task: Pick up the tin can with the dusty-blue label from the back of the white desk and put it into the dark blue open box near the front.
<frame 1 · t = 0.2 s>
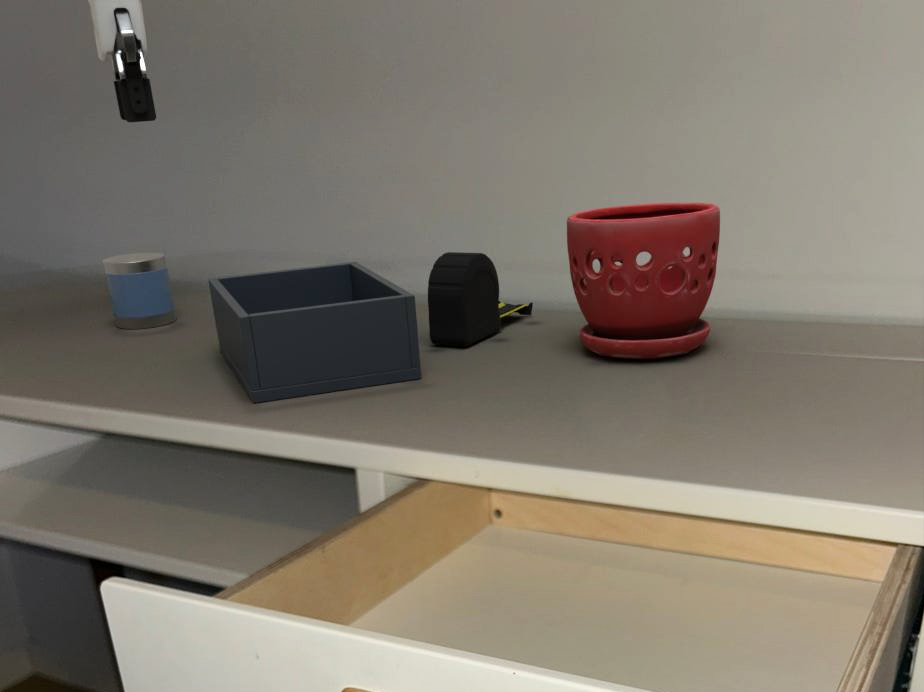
hand: (138, 120, 119), 20 cm above the table, tool pointing down, fingers open, 9 cm apart
can: (146, 322, 120), on the table
flower pot: (640, 350, 97), on the table
tape measure: (482, 333, 107), on the table
dark blue open box: (314, 364, 99), on the table
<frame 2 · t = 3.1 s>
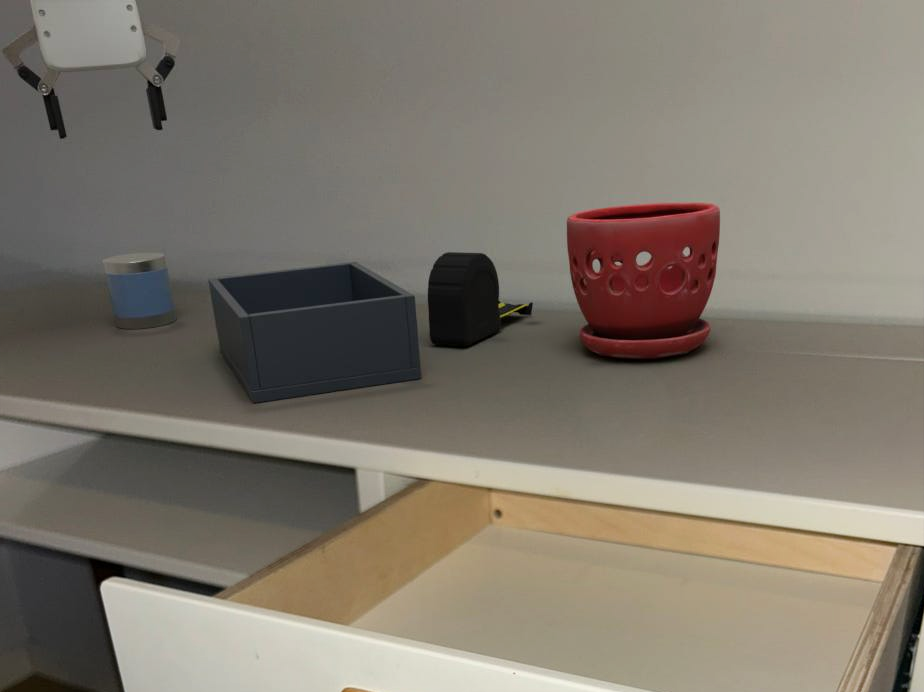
hand: (111, 133, 111), 19 cm above the table, tool pointing down, fingers open, 9 cm apart
nothing on the table moved.
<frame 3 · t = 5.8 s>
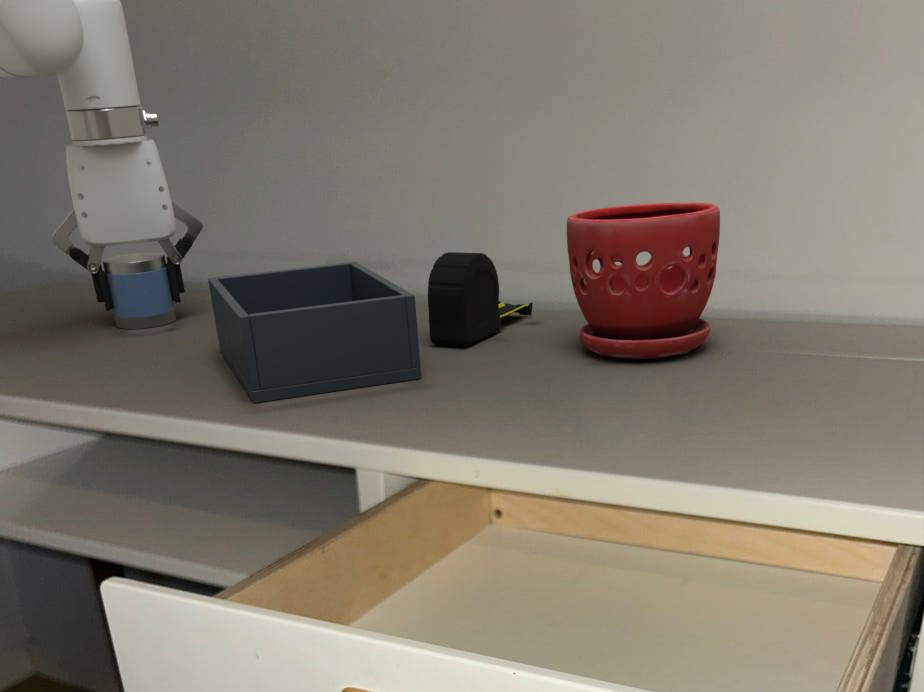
hand: (142, 303, 119), 2 cm above the table, tool pointing down, fingers closed on can, 6 cm apart
can: (146, 322, 120), on the table, touching gripper
everything else where it was.
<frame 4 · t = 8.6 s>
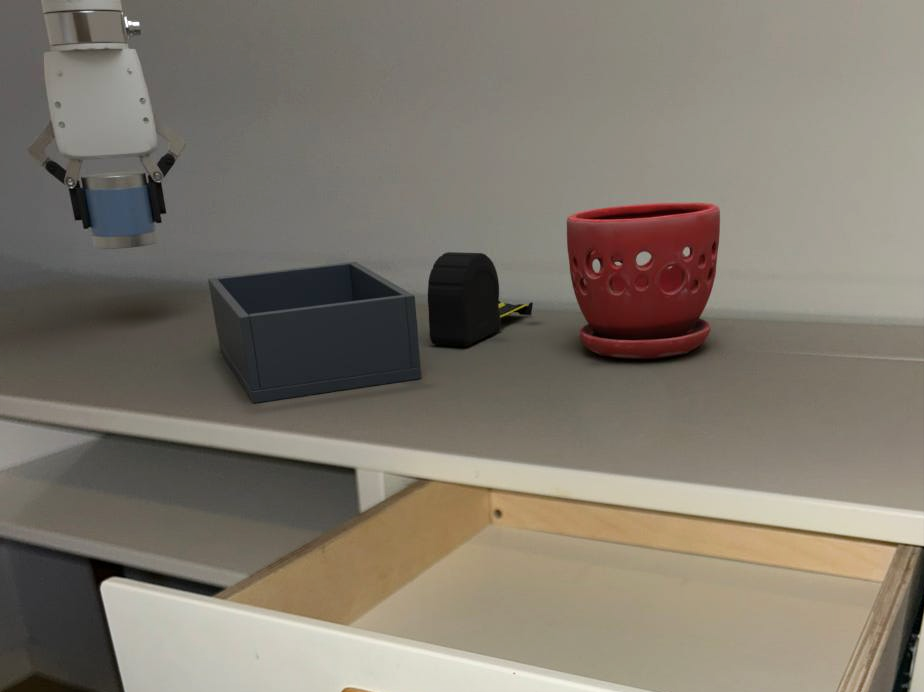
hand: (122, 223, 115), 11 cm above the table, tool pointing down, fingers closed on can, 6 cm apart
can: (126, 244, 116), point 8 cm above the table, touching gripper
everything else where it was.
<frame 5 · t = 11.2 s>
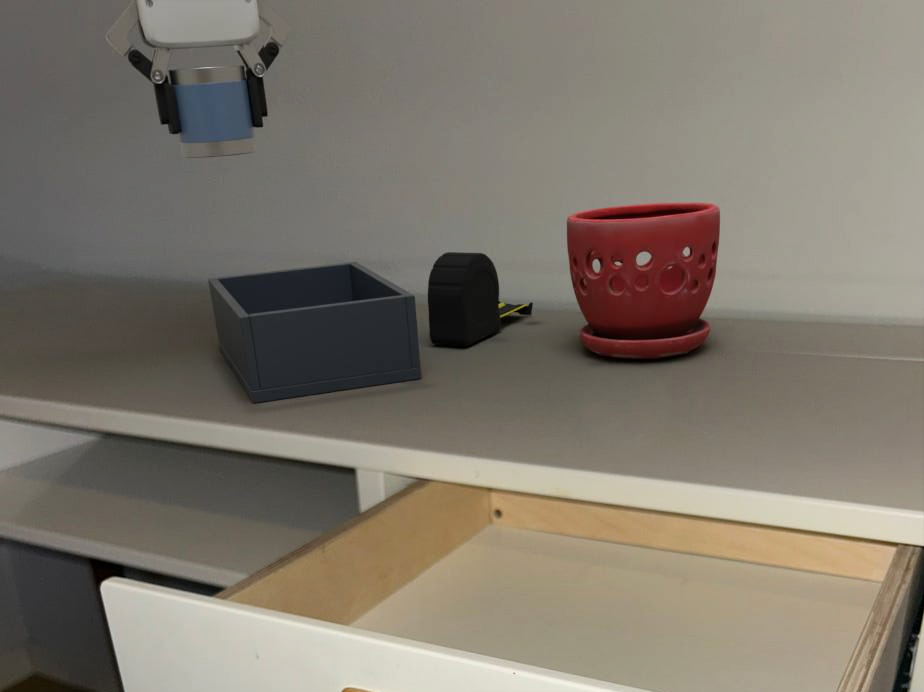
hand: (215, 128, 97), 20 cm above the table, tool pointing down, fingers closed on can, 6 cm apart
can: (219, 154, 98), point 18 cm above the table, touching gripper
everything else where it was.
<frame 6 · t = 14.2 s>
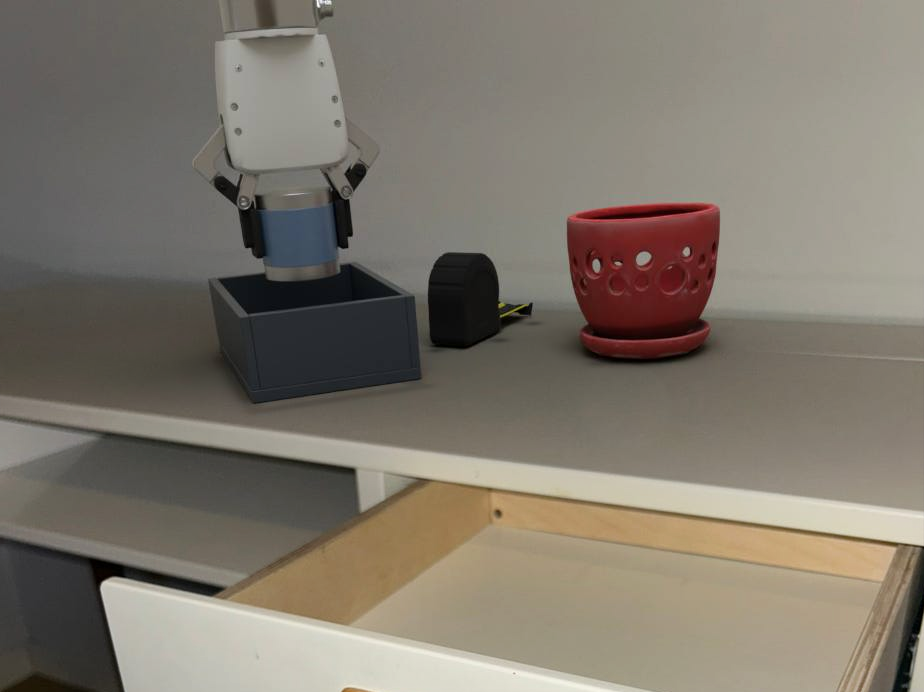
hand: (300, 249, 94), 10 cm above the table, tool pointing down, fingers closed on can, 6 cm apart
can: (303, 274, 95), point 8 cm above the table, touching gripper
everything else where it was.
when the fingers open (3 cm above the table, at t = 16.7 s): can stays where it is, resting on dark blue open box.
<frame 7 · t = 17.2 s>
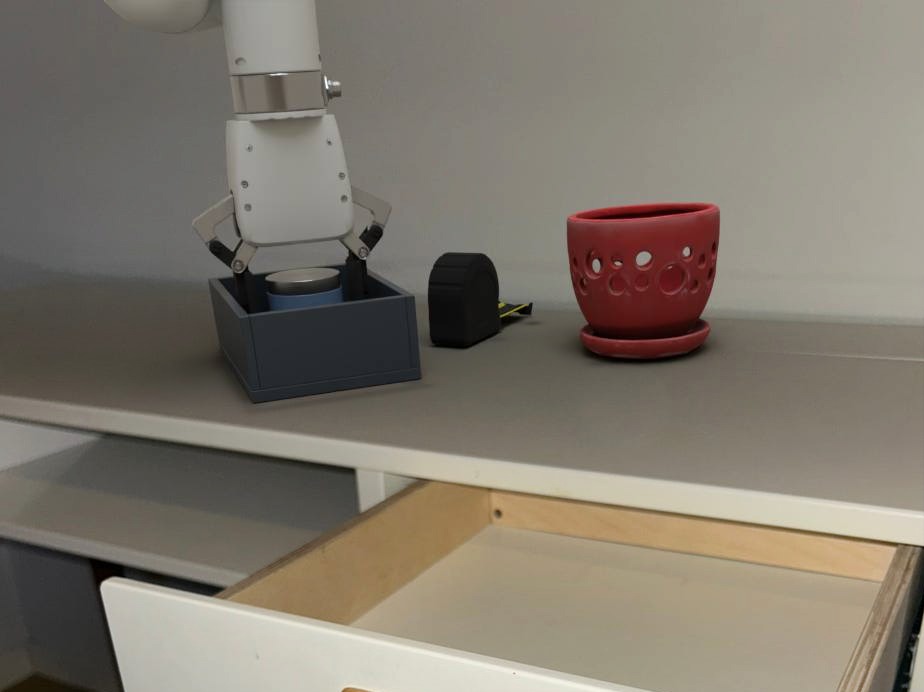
hand: (305, 310, 97), 5 cm above the table, tool pointing down, fingers open, 9 cm apart
can: (312, 353, 98), point 1 cm above the table, touching dark blue open box
everything else where it was.
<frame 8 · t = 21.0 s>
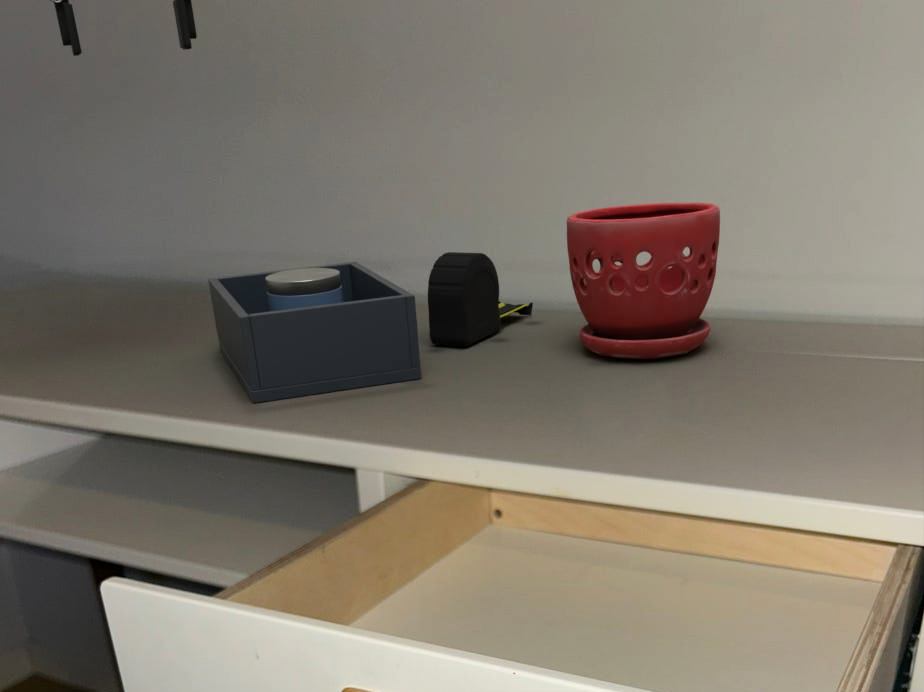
hand: (132, 51, 97), 26 cm above the table, tool pointing down, fingers open, 9 cm apart
nothing on the table moved.
at the end: can inside the target area in the dark blue open box (0.0 cm from its centre), point 1.0 cm above the dark blue open box's base; the gripper is holding nothing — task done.
